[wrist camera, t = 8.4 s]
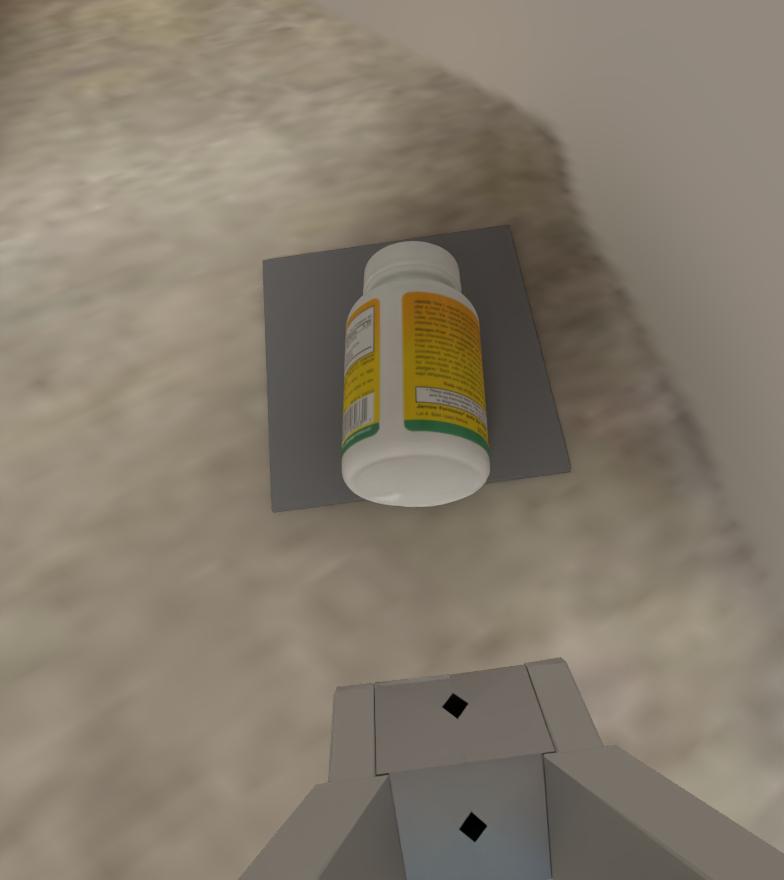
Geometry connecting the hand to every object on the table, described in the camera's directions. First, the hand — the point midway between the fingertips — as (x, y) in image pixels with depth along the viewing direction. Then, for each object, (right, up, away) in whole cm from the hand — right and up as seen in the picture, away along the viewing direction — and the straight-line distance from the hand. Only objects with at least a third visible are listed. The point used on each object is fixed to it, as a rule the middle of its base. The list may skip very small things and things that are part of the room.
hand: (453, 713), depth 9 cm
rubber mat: (0, +7, +22) cm, 23 cm away
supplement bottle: (0, +2, +16) cm, 16 cm away
